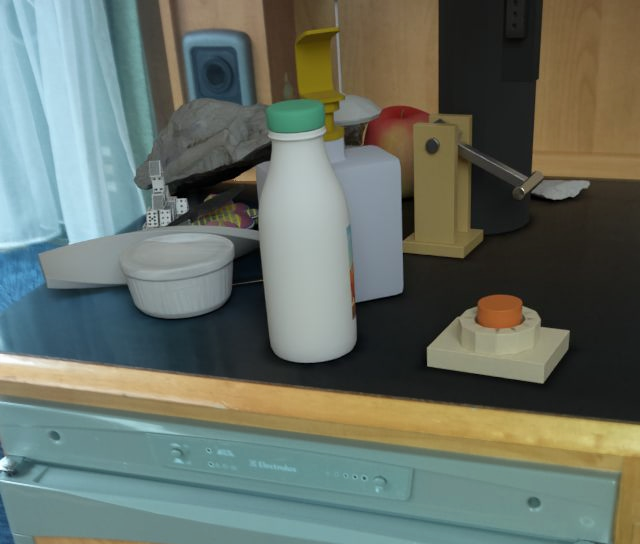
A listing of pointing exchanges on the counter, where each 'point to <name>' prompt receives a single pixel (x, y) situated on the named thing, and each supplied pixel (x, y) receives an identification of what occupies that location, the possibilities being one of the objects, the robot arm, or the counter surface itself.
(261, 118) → the stone
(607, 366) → the counter surface
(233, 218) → the decorative ornament
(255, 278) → the knife
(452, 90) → the vase
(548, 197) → the stone
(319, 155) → the milk bottle
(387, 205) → the soap bottle
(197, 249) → the ramekin
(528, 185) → the lever
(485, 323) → the button
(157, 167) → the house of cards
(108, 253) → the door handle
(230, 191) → the machete
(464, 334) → the button block
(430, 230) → the bracket
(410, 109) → the apple
